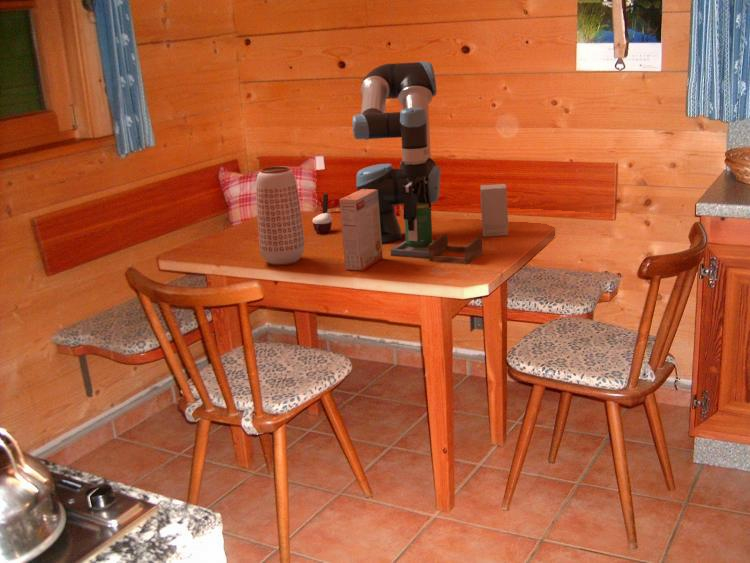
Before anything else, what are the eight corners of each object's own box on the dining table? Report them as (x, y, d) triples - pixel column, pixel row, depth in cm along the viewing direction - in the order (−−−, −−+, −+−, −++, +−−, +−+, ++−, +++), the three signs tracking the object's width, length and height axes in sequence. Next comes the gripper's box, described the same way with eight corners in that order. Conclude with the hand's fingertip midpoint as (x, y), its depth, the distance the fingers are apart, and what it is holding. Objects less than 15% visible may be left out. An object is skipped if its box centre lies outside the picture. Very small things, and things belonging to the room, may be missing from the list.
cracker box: (365, 256, 257) (360, 188, 251) (383, 258, 255) (379, 188, 248) (343, 270, 245) (338, 198, 239) (362, 271, 243) (357, 199, 237)
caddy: (429, 261, 249) (428, 244, 247) (444, 250, 259) (444, 234, 257) (468, 264, 243) (467, 247, 242) (482, 252, 254) (482, 236, 252)
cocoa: (321, 237, 285) (317, 202, 281) (307, 234, 289) (304, 199, 285) (340, 229, 292) (337, 195, 287) (327, 226, 296) (324, 193, 291)
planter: (274, 254, 266) (265, 164, 258) (313, 256, 261) (305, 164, 252) (253, 266, 254) (243, 172, 246) (293, 269, 249) (284, 173, 241)
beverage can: (434, 241, 262) (432, 202, 258) (430, 248, 254) (428, 208, 251) (408, 241, 263) (406, 203, 260) (403, 248, 256) (401, 209, 252)
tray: (390, 255, 257) (390, 249, 256) (408, 244, 268) (408, 238, 267) (431, 258, 251) (430, 252, 251) (447, 247, 262) (447, 241, 262)
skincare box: (507, 231, 276) (506, 183, 271) (508, 236, 270) (507, 187, 265) (481, 232, 277) (480, 184, 272) (481, 237, 271) (480, 188, 266)
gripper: (412, 168, 241) (416, 246, 248) (440, 155, 258) (443, 229, 265) (388, 168, 244) (392, 245, 251) (417, 155, 262) (421, 227, 269)
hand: (418, 236), depth 258 cm, fingers closed on beverage can, 8 cm apart
